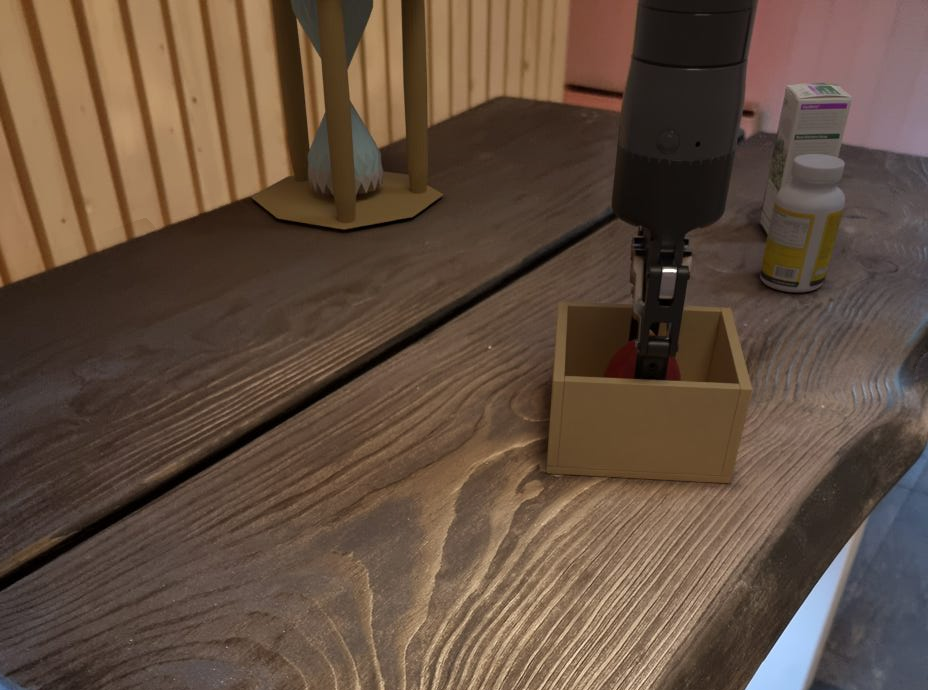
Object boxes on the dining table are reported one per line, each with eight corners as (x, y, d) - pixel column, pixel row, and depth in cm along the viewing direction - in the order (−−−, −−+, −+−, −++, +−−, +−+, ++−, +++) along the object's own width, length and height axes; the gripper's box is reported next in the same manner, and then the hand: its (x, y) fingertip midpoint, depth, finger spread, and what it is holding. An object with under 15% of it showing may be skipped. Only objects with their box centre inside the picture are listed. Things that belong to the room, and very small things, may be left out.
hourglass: (476, 197, 116) (478, -49, 99) (343, 246, 104) (320, -25, 87) (350, 161, 128) (333, -65, 111) (218, 200, 116) (176, -46, 99)
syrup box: (819, 241, 104) (857, 95, 94) (767, 241, 104) (799, 95, 94) (806, 223, 108) (841, 82, 98) (755, 223, 108) (785, 82, 99)
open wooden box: (713, 395, 78) (730, 307, 73) (730, 483, 68) (752, 389, 63) (551, 387, 79) (558, 300, 74) (546, 473, 69) (552, 380, 64)
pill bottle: (822, 274, 97) (854, 153, 89) (823, 298, 93) (857, 173, 85) (758, 268, 98) (784, 148, 91) (756, 291, 94) (784, 168, 86)
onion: (623, 400, 76) (635, 305, 71) (685, 422, 74) (703, 325, 68) (584, 428, 73) (594, 331, 68) (648, 452, 70) (664, 353, 65)
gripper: (751, 173, 54) (702, 422, 65) (725, 110, 64) (686, 334, 75) (620, 170, 54) (594, 417, 65) (616, 108, 65) (594, 330, 76)
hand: (643, 372), depth 70 cm, fingers open, 8 cm apart
